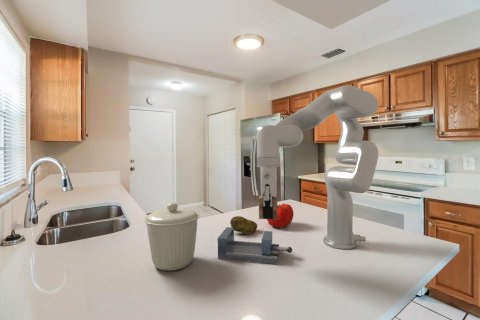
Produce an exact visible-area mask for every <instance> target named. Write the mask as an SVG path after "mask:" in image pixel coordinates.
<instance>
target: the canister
mask: <svg viewBox="0 0 480 320" xmlns="http://www.w3.org/2000/svg"><path fill="white" fill-rule="evenodd" d="M199 218H200V213H199V212H198V211H196V210H194V209H192V208H190V207H189V208H188V207H179V205H178V203H177V202H169V203H168V204H167V206H166V208H162V209H158V210H155V211H153V212H151V213H150V214H148V215H147V216H146V217H144V219H143V222H144V224H146V229H147V236H148V237H147V238H148V242H149V243H148V244H149V251H150V255H151V260H152V263H153V265H154V267H156V268H157V269H158V270H161V271H165V272H167V271H169V272H170V271H177V270H181V269H184V268H185V267H186V266H187V267H188V265H190V264H191V262H192V261H193V259H194V256H195V250H196V242H197V241H196V239H197V231H198V219H199Z"/></svg>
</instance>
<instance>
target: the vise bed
mask: <svg viewBox="0 0 480 320" xmlns="http://www.w3.org/2000/svg"><path fill="white" fill-rule="evenodd" d="M272 246H273V247H280V244H279V243H272ZM279 253H280V251H271V256H265V255H262V242H257V241H256V242H255V241H243V240H242V241H241V240H235V230H234V228H232V227H231V226H229V227H228V226H227V227H225V228H224V230H223V231H222V232H221V234H220V235H219V236H218V237H217V259H218V260H226V261H238V262H245V263H247V262H248V263H259V264H266V265H268V264H269V265H278V263H279V256H280V255H279Z"/></svg>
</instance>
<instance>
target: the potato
mask: <svg viewBox="0 0 480 320" xmlns="http://www.w3.org/2000/svg"><path fill="white" fill-rule="evenodd" d="M229 222H230V227H232V228H234V232H238V233H241V234H244V235H247V234H252V233H254V232H256V230H257V229H258V224H257V222H256V221H253V220H252V219H248V218H246V217H243V216H240V215H239V216H238V215H235V216H234V217H233V216H232V218H231V219H230V221H229Z"/></svg>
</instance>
